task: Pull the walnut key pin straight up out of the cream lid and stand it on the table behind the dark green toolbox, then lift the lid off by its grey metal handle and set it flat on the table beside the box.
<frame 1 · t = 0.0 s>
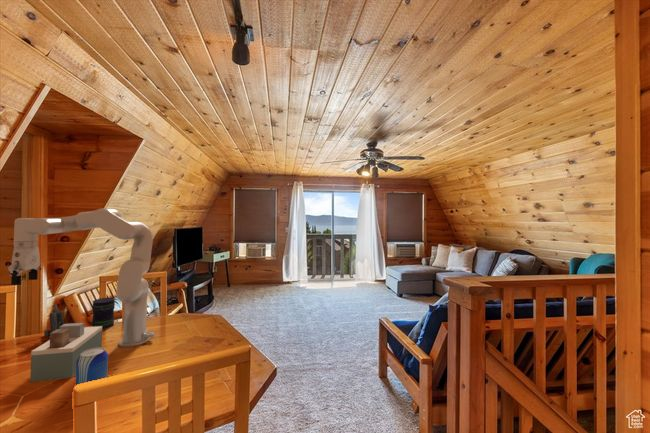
hand: (24, 282, 128), 31 cm above the table, tool pointing down, fingers open, 9 cm apart
lid: (70, 341, 116), point 10 cm above the table, touching toolbox
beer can: (91, 398, 96), on the table
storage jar: (103, 326, 156), on the table
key: (58, 371, 110), point 1 cm above the table, touching toolbox
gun: (53, 338, 140), on the table
toolbox: (69, 364, 116), on the table
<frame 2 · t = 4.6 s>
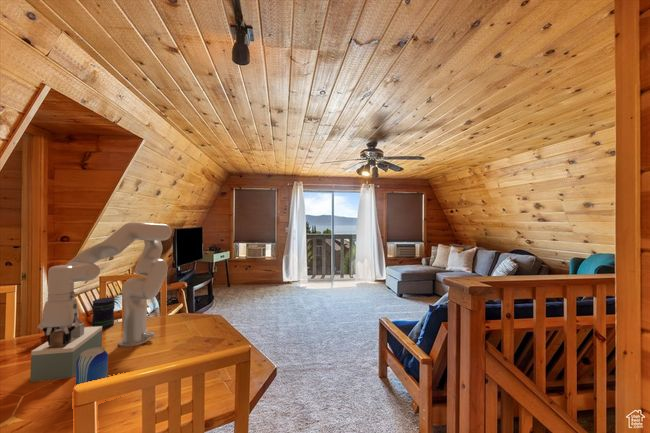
hand: (59, 342, 110), 12 cm above the table, tool pointing down, fingers closed on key, 4 cm apart
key: (58, 371, 110), point 1 cm above the table, touching gripper, toolbox
everything else where it was.
when the fingers open (13 cm above the table, at t = 12.8 s): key drops 1 cm, on the table.
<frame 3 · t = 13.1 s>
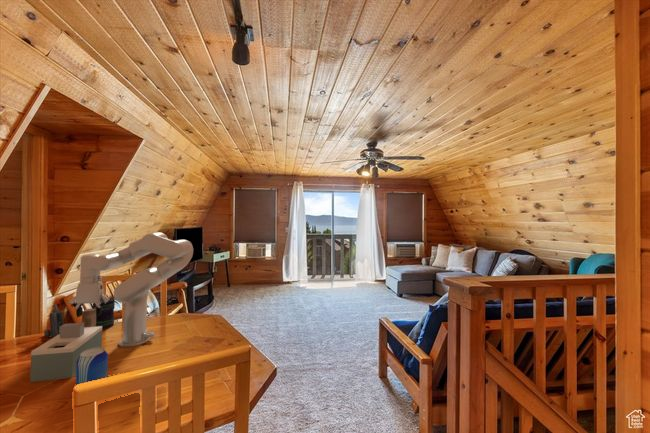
hand: (89, 315, 137), 13 cm above the table, tool pointing down, fingers open, 7 cm apart
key: (88, 342, 137), on the table
everything else where it was.
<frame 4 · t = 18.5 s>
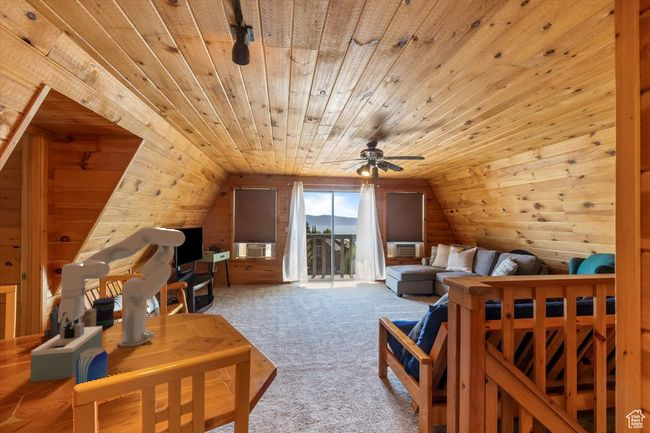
hand: (72, 335, 117), 12 cm above the table, tool pointing down, fingers closed on lid, 3 cm apart
lid: (70, 341, 116), point 10 cm above the table, touching gripper, toolbox
everything else where it was.
when the fingers open (4 cm above the table, at t = 26.1 s): lid drops 2 cm, on the table.
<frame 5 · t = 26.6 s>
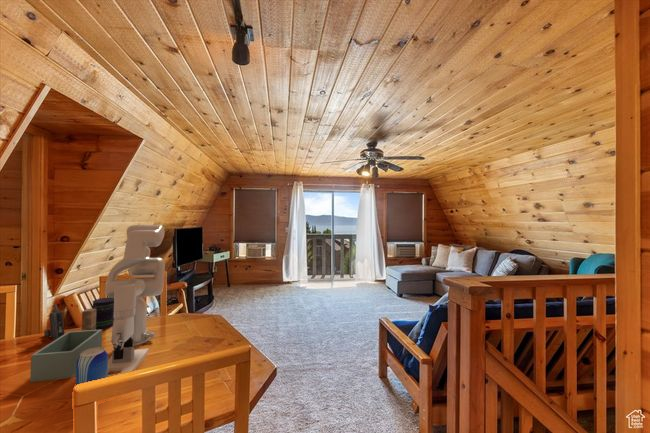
hand: (123, 353, 118), 5 cm above the table, tool pointing down, fingers open, 8 cm apart
lid: (122, 365, 117), on the table
everything else where it was.
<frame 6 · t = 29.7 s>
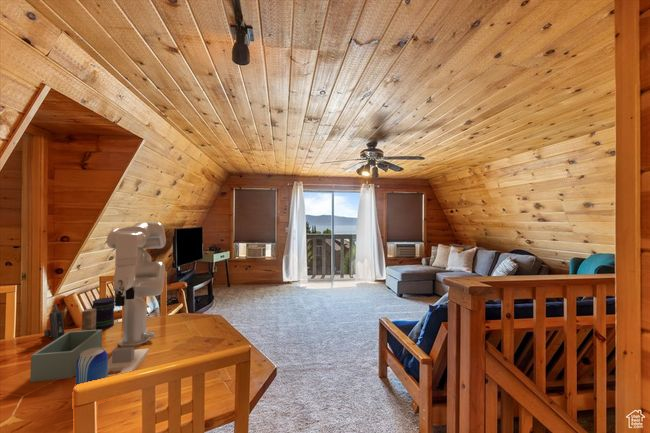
hand: (125, 302, 118), 26 cm above the table, tool pointing down, fingers open, 9 cm apart
nothing on the table moved.
at the end: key inside the target area (0.1 cm from its centre), on the table; lid inside the target area (0.1 cm from its centre), on the table; lid tilted 0° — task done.
